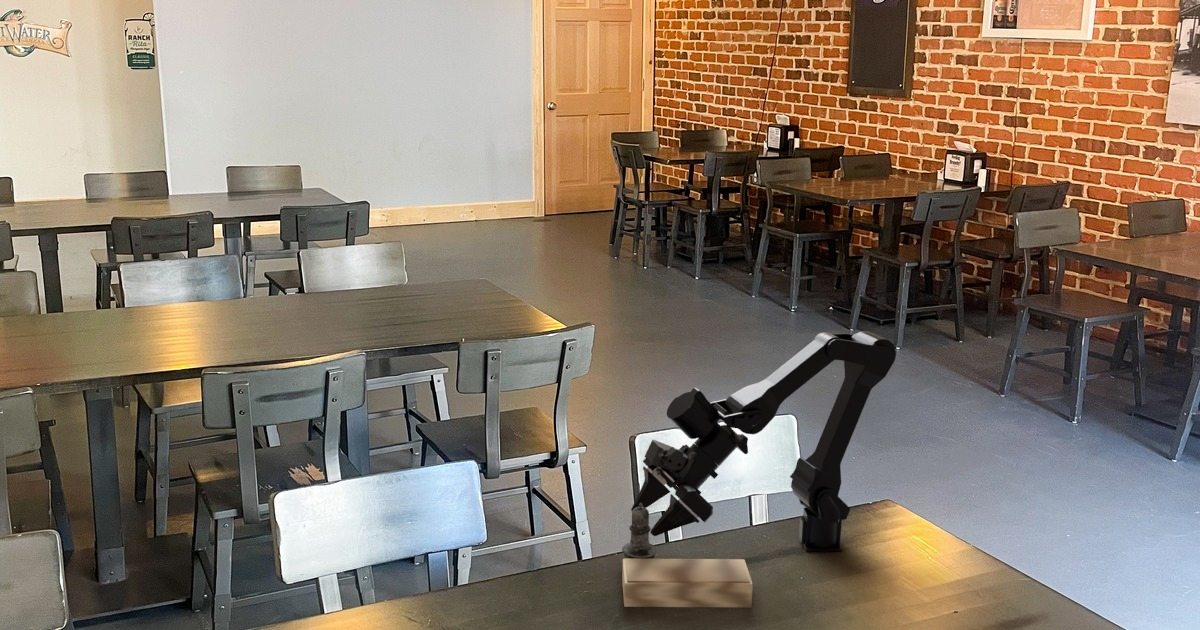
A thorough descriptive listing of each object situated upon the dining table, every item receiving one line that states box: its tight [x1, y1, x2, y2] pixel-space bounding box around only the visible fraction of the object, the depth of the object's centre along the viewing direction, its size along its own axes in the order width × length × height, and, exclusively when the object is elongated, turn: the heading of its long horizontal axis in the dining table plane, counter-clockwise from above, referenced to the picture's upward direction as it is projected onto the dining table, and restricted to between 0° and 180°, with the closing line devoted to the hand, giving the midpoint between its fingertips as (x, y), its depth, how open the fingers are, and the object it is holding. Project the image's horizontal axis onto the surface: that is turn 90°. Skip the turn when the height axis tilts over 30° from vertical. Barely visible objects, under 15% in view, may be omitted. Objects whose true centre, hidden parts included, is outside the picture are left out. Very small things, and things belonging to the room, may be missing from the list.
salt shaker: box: [621, 503, 658, 559], centre depth 180 cm, size 6×6×12 cm
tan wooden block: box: [621, 557, 753, 608], centre depth 172 cm, size 20×8×4 cm, turn 91°
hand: (642, 523), depth 179 cm, fingers open, 9 cm apart
